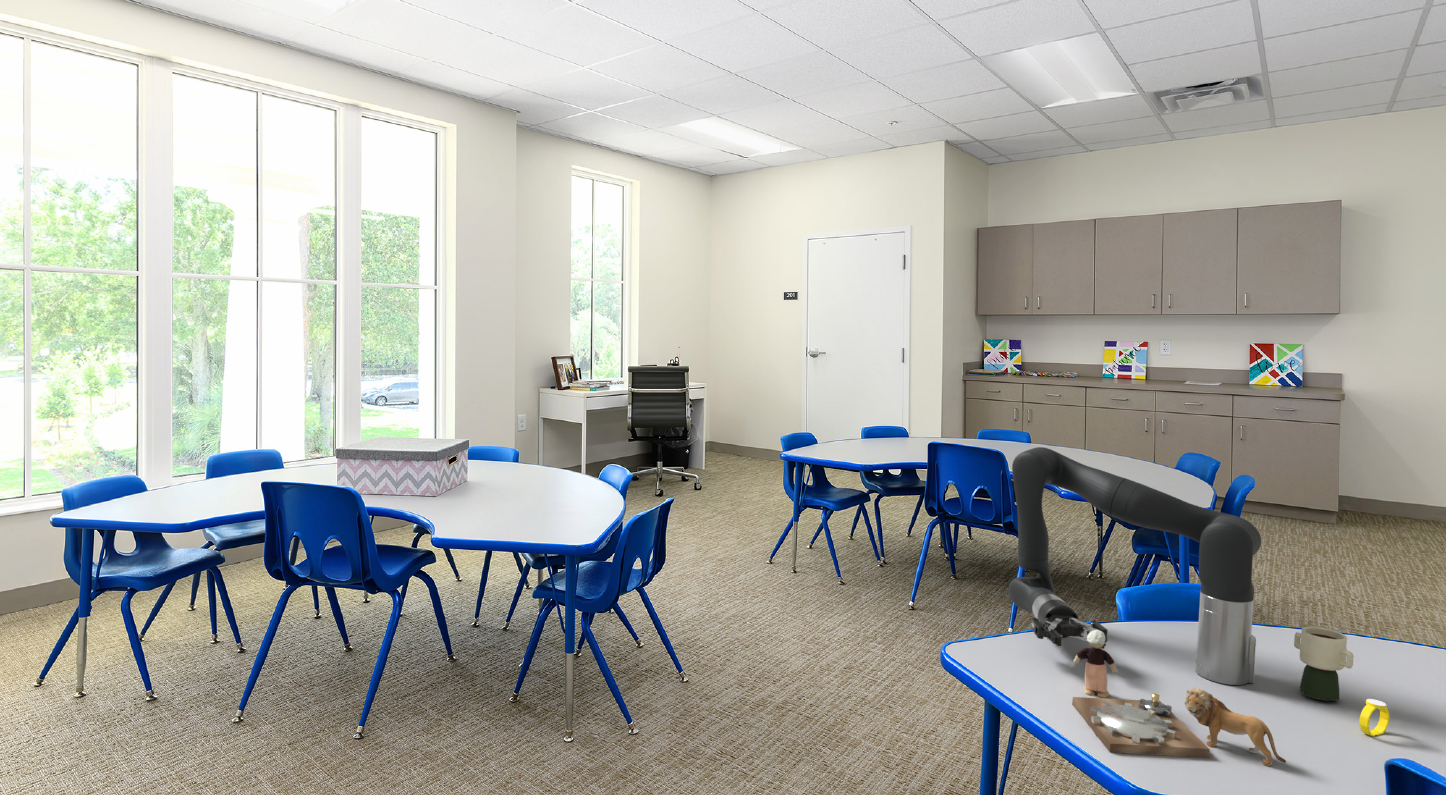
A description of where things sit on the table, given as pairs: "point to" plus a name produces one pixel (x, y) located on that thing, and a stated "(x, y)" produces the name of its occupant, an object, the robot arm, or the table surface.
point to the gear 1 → (1132, 723)
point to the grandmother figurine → (1096, 664)
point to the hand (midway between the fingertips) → (1081, 643)
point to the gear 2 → (1156, 706)
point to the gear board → (1180, 746)
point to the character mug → (1322, 661)
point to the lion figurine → (1229, 723)
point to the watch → (1367, 714)
